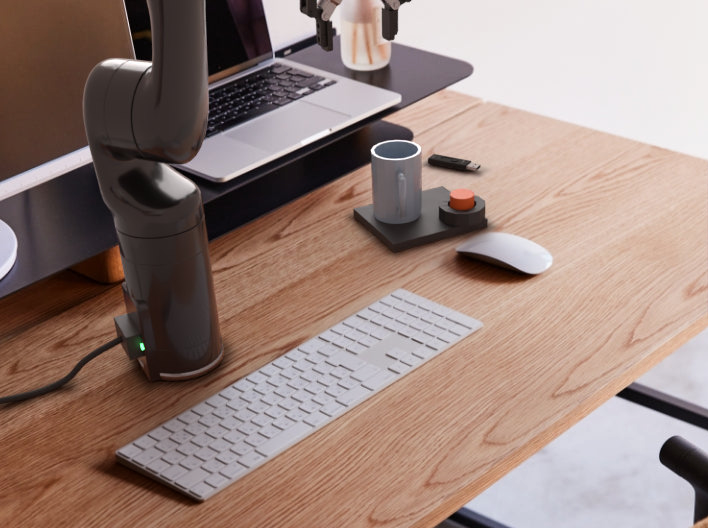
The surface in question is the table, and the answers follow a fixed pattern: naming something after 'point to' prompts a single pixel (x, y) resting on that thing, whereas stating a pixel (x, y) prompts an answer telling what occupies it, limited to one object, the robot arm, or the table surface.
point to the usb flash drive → (452, 162)
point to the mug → (396, 181)
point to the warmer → (426, 221)
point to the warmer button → (462, 199)
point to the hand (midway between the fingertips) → (357, 44)
